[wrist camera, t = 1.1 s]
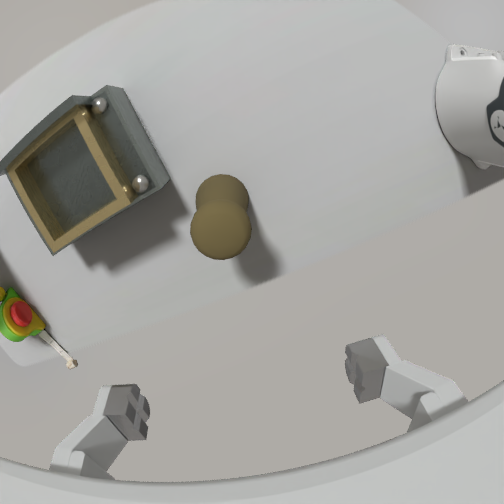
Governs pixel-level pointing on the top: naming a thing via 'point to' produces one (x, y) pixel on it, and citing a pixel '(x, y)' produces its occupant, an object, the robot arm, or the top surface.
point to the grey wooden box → (83, 166)
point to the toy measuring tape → (24, 322)
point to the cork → (221, 218)
